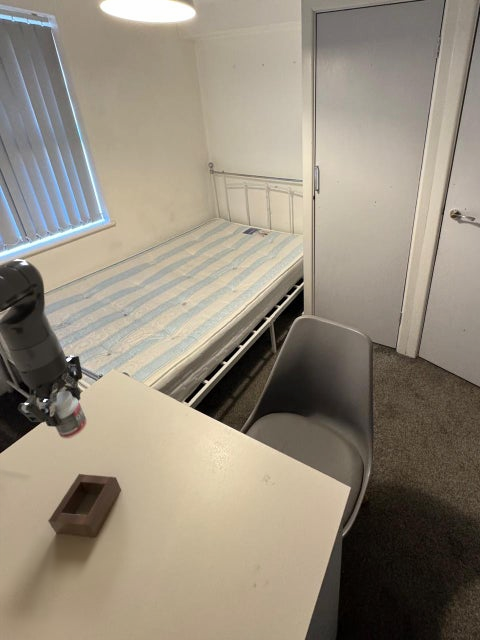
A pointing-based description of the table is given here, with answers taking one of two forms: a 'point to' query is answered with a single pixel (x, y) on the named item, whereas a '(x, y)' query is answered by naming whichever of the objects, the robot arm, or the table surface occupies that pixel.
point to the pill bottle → (69, 415)
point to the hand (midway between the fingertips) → (66, 411)
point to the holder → (65, 512)
